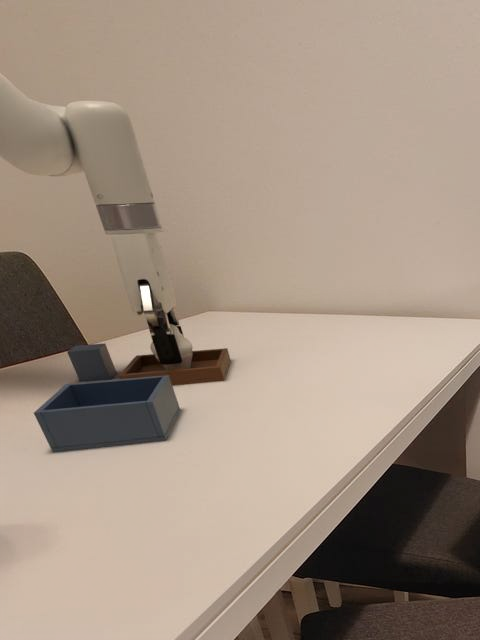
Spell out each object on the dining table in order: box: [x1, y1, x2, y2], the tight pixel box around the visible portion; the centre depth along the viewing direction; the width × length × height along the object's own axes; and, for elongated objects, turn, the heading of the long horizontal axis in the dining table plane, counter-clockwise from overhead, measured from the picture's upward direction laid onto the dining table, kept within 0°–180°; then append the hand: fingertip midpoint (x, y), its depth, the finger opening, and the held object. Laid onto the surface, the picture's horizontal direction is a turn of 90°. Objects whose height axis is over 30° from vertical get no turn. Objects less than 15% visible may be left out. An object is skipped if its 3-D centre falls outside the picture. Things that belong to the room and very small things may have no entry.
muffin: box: [149, 323, 193, 370], centre depth 92 cm, size 6×6×7 cm
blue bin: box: [33, 375, 181, 454], centre depth 72 cm, size 12×12×5 cm
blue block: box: [67, 343, 117, 383], centre depth 94 cm, size 4×4×4 cm
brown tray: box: [118, 347, 232, 386], centre depth 94 cm, size 15×14×2 cm
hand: (174, 357), depth 93 cm, fingers closed on muffin, 6 cm apart
